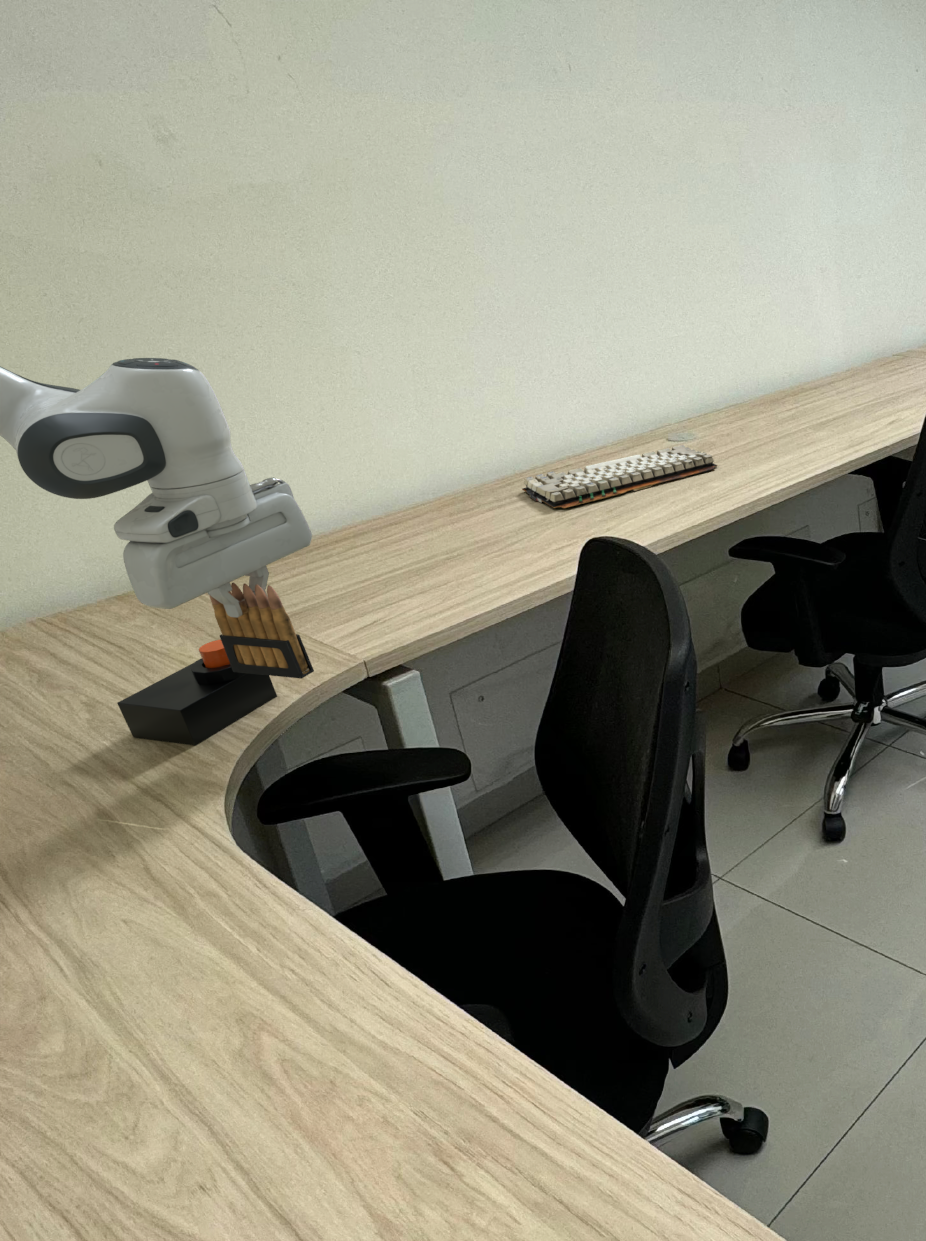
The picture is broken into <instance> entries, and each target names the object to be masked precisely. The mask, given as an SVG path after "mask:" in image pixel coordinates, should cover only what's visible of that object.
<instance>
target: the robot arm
mask: <svg viewBox="0 0 926 1241" xmlns="http://www.w3.org/2000/svg"><path fill="white" fill-rule="evenodd" d="M0 437H2V439H4V440H5V441H6V442H7V443H9V445H11V447H12V448H13V449H14V450H15V453H16V456H17V458H18V459H17V460H18V462H19V465H20V467H21V469H22V471H23V472H24V474H25V475H26V476H27V477H28V479H29V480H30V481H32V482H33V483H34V484H35V485H37V486H38V487H40V488H41V489H43V490H45V491H46V492H49V493H51V494H53V495H56V496H59V497H62V498H66V499H67V498H68V499H73V500H76V499H77V500H91V499H97V498H101V497H105V496H108V495H112V494H114V493H118V492H120V491H124V490H127V489H129V488H132V487H134V486H137V485H139V484H142V483H144V482H146V481H147V484H148V485H149V488H150V490H151V493H150V494H148V495H147V496H146V497H145V498H143V499H142V500H141V501H140V503H138V504H137V505H136V506H134V507H133V508H131V509H130V510H129V511H127V513H125V514H123V516H122V517H120V518H119V519H117V520H116V521H115V522H114V524H113V530H114V533H115V535H116V537H117V538H118V539H120V540H123V541H128V543H126V545H125V546H124V548H123V553H122V558H123V559H122V560H123V563H124V568H125V571H126V574H127V577H128V580H129V582H130V585H131V588H132V590H133V592H134V594H135V597H136V599H137V600H138V601H139V603H141V604H142V605H144V606H146V607H148V608H150V609H151V608H152V609H159V610H160V609H161V610H172V609H175V608H177V607H179V606H182V605H183V604H186V603H187V602H190V601H192V600H194V599H197V598H199V597H201V596H203V595H205V594H207V595H208V596H209V595H210V596H212V597H213V598H214V599H216V600H217V601H219V602H220V603H222V604H223V605H224V608H225V610H226V613H227V614H228V616H230V617H236V618H238V617H240V616H242V615H244V614H246V613H248V612H249V607H247V602H246V599H237V598H234V597H233V596H232V595H231V594H230V593H228V592H230V591H232V587H231V584H232V583H231V582H233V581H236V580H238V579H240V578H242V577H249V578H248V579H249V580H248V586H249V587H250V589H251V590H252V591H253V593H254V595H255V585H256V584H258V585H259V586H260V587H261V588H262V589H263V591H264V592H265V594H266V595H267V587H268V581H269V575H270V572H269V570H268V567H267V566H268V565H270V564H273V563H275V562H277V561H279V560H282V559H284V558H285V557H288V556H290V555H293V554H294V553H298V552H299V551H301V550H303V549H305V548H307V547H309V546H311V543H312V539H313V532H312V530H311V527H310V525H309V523H308V521H307V519H306V517H305V515H304V513H303V511H302V509H301V507H300V506H299V504H298V502H297V500H296V499H295V496H294V493H293V491H292V488H291V486H290V484H289V483H288V482H286V481H285V480H283V479H279V478H276V477H274V476H273V477H268V478H267V477H266V478H265V479H263V480H262V481H259V482H256V483H252V484H251V483H250V480H249V478H248V476H247V473H246V470H245V467H244V465H243V462H242V461H241V460H240V459H239V458H238V456H237V454H236V453H235V451H234V449H233V446H232V432H231V428H230V425H229V423H228V420H227V418H226V416H225V413H224V410H223V408H222V405H221V403H220V401H219V398H218V397H217V395H216V392H215V390H214V388H213V387H212V385H211V383H210V381H209V380H208V379H207V377H206V375H205V374H204V373H203V372H202V371H201V370H200V369H198V368H196V367H195V366H194V365H192V364H190V363H187V362H184V361H182V360H178V359H169V358H164V357H163V358H162V357H161V358H160V357H136V358H125V359H121V360H117V361H115V362H112V363H111V364H110V366H108V369H107V370H106V371H104V373H102V374H101V375H100V376H99V377H98V378H96V379H95V380H93V381H92V382H90V383H89V384H88V385H87V386H85V387H83V388H82V389H81V388H76V387H75V388H74V387H68V386H62V385H55V384H49V383H43V382H39V381H36V380H31V379H29V378H26V377H24V376H22V375H19V374H18V373H16V372H13V371H11V370H9V369H6V367H5V368H4V367H3V366H1V365H0ZM210 596H209V597H210ZM267 597H268V596H267Z"/></svg>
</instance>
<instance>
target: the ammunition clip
mask: <svg viewBox="0 0 926 1241" xmlns="http://www.w3.org/2000/svg"><path fill="white" fill-rule="evenodd" d="M230 584H231V587H232V591H230V592H228V593H230V594H231V595H232V596H233V597H234V598H237V599H246V602H247V607H249V612H248V613H246V614H244V615H242V616H240V617H238V618H236V617H230V616H228V614H227V613H226V610H225V608H224V605H223V604H222V603H220V602H219V601H217V600H216V599H214V598H213V597H212V596H210V595H209V594H208V596H209V599H210V602H211V606H212V608H213V613H214V617H215V620H216V623H217V625H218V627H219V628H218V629H219V630H220V632H221V634H220V635H219V638H220V639H219V640H221V641H222V644H223V646H224V649H225V652H226V654H227V657H228V660H229V662H230V665H231V667H232V670H233V672H240V673H250V674H260V675H269V676H270V677H280V678H291V679H301V680H303V678H306V677H307V676H308V675H310V674H312V673H314V672H315V670H314V667H313V664H312V662H311V659H310V658H309V655H308V652H307V650H306V648H305V646H304V643H303V640H302V638H301V635H300V634H298V633H296V631H295V629H294V626H293V623H292V621H291V618H290V616H289V614H288V612H287V611H286V609H285V606H284V605H283V602H282V600H281V598H280V597H279V594H278V593H277V591H276V590H275V589H274V588H273V587H272V586H271V585H270V584H267V586H266V594H267V595H266V594H265V592H264V591H263V589H262V588H261V587H260V586H259V585H258V584H256V585H255V595H254V593H253V591H252V590H251V589H250V587H249V584H247V583H243V584H242V590H241V588H240V587H239V585H237V584H236V583H235V582H232V583H230ZM267 596H268V597H267Z"/></svg>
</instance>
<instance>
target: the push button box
mask: <svg viewBox="0 0 926 1241" xmlns="http://www.w3.org/2000/svg"><path fill="white" fill-rule="evenodd" d="M274 687H275V686H274V684H273V681H272V679H271V676H270V675H260V674H250V673H240V672H233V670H232V667H231V665H230V664H228V665H224V666H221V667H215V668H206V667H205V664H204V662H203V659H202V657H201V658H199V659H197V660H195V661H194V662H193V663H190V664H189V665H186V666H185V667H183V668H181V669H179V670H176V671H175V672H173V673H171V674H170V675H167V676H165V677H164V678H162V679H159V680H158V681H156V682H153V683H152V684H150V685H149V686H146V687H145V688H142V689H141V690H139V691H137V692H135V693H133V694H131V695H129V696H127V697H125V698H124V699H122V700H120V701H118V702H117V703H116V704H117V707H118V708H119V710H120V712H121V714H122V716H123V719H124V721H125V723H126V724H127V727H128V729H129V731H130V734H131V735H132V738H134V739H141V740H149V741H155V742H164V743H173V744H178V745H179V744H180V745H186V746H195V747H196V746H198V745H199V744H201V743H203V742H204V741H206V740H207V739H209V738H211V737H213V736H214V735H216V734H217V733H219V732H221V731H223V730H225V729H226V728H228V727H229V726H231V725H233V724H234V723H236V722H237V721H239V720H241V719H243V718H244V717H247V716H248V715H250V714H251V713H253V712H254V711H256V710H257V709H259V708H261V707H262V706H264V705H266V704H267V703H269V702H271V701H272V700H274V699H276V698H277V697H278V694H277V692H276V689H275V688H274Z"/></svg>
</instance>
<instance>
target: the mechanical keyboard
mask: <svg viewBox="0 0 926 1241" xmlns="http://www.w3.org/2000/svg"><path fill="white" fill-rule="evenodd" d="M714 462H715V460H714V458H713V455H712V454H709V453H707V452H705V451H703V452H702V451H699V450H695V449H692V448H691V447H689V446H685V445H684V444H679V445H676V446H672V447H671V449H670V448H669V447H666V448H663V449H658V450H657V451H656V452H655V451H650V452H645V453H642V454H641V455H640V454H635V455H630V456H625V457H620V458H615V459H611V460H607V461H602V462H598V463H594V464H590V465H586V466H584V469H582V468H581V467H579V468H574V469H570V470H567V473H566V472H565V471H561V472H558V473H556V472H555V471H554V470H553V471H552V470H551V471H549V472H546V475H544V474H543V473H540V474H537V475H535V476H534V477H533V476H527V477H524V480H523V485H525V487H523V488H521V491H524V492H526V494H527V495H528V496H529V497H530V499H531V500H532V499H533V500H534V502H539V503H540V504H542V502H543V503H545V504H546V505H547V506H549V507H551V508H553V509H556V508H562V509H567V508H571V507H574V506H579V505H582V504H587V503H590V502H595V501H599V500H602V499H606V498H611V497H615V496H619V495H621V494H625V493H627V492H630V491H634V492H636V491H640V490H643V489H647V488H651V487H652V486H655V485H659V484H662V483H666V482H669V481H675V480H677V479H683V478H687V477H689V476H693V475H698V474H701V473H705V472H706V473H707V472H710V471H713V470H715V469H716V467H718V464H715V463H714Z"/></svg>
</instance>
